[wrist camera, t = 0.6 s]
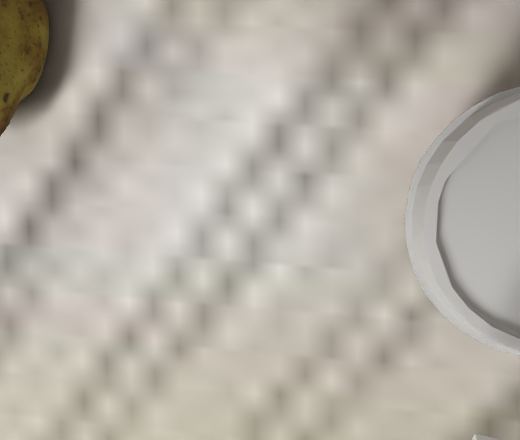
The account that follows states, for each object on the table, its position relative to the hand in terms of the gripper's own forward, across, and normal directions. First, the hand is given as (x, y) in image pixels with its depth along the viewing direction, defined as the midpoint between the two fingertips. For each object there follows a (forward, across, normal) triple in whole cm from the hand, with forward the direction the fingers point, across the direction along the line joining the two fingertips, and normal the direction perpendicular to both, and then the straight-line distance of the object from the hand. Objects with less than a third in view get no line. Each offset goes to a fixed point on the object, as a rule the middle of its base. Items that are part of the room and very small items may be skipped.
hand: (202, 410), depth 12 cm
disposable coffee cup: (+18, -11, -2) cm, 21 cm away
